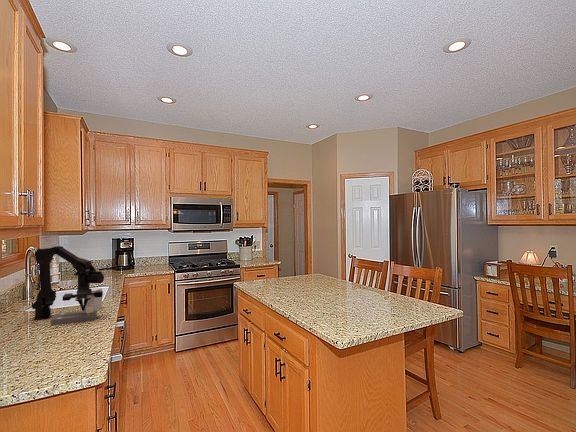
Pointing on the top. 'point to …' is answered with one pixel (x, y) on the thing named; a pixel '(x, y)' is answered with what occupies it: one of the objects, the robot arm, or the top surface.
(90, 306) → the fader
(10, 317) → the top surface
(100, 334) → the top surface
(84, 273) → the robot arm
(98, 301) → the supplement box
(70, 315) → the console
